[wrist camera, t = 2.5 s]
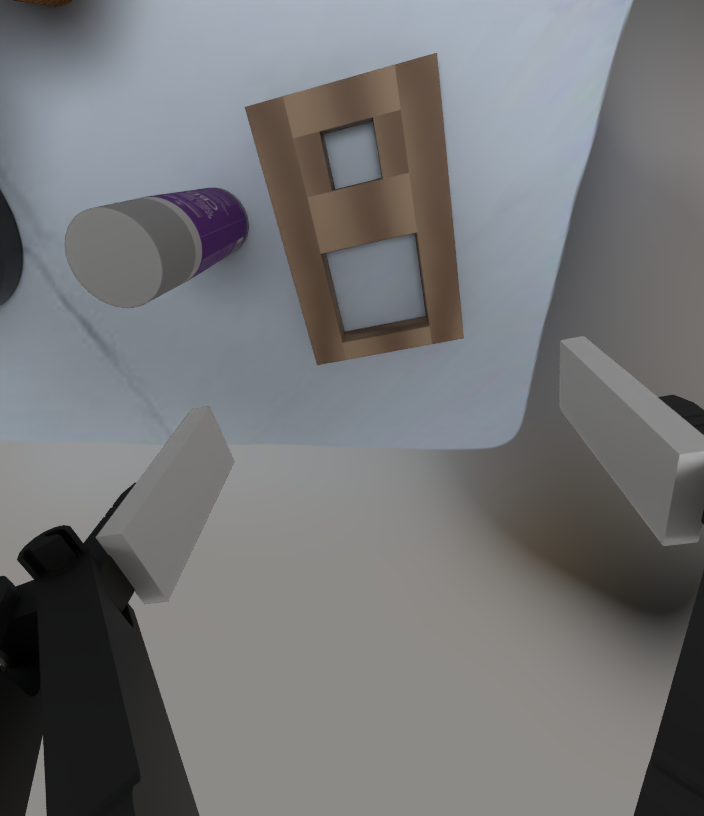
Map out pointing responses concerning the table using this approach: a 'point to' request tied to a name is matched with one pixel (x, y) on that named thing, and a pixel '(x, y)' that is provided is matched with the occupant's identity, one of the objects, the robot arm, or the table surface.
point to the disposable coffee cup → (47, 2)
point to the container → (153, 243)
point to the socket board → (363, 199)
